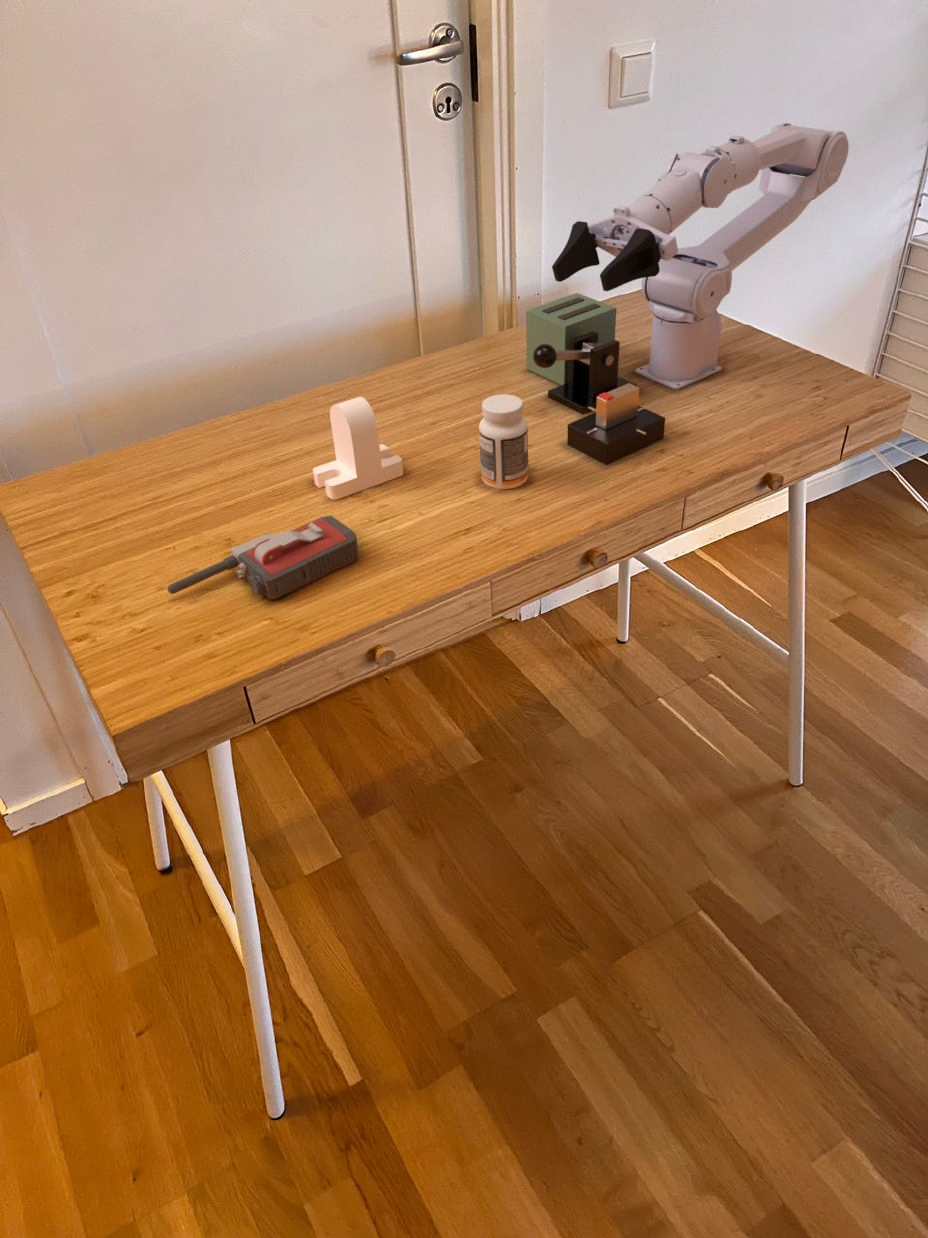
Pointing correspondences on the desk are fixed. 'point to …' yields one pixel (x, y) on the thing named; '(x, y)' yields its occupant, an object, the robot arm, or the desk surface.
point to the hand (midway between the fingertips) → (579, 278)
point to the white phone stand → (356, 452)
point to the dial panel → (615, 435)
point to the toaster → (566, 329)
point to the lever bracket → (589, 375)
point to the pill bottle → (503, 442)
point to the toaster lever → (561, 354)
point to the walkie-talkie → (285, 558)
